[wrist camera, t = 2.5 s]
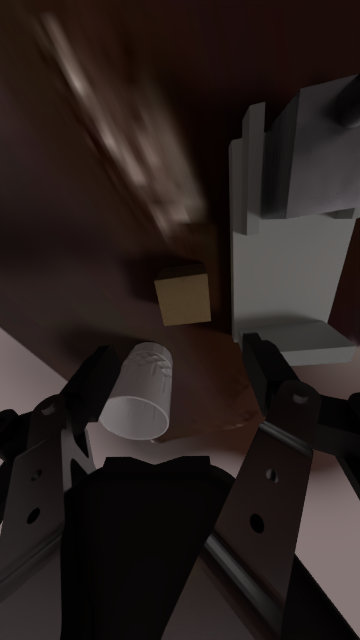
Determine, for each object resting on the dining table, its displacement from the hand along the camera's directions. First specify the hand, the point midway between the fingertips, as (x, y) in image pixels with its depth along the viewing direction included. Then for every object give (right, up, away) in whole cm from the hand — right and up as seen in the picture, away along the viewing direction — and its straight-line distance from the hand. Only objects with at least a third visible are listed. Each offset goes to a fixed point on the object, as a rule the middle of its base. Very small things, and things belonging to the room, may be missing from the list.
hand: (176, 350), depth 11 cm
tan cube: (+1, +6, +11) cm, 13 cm away
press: (+11, +9, +9) cm, 17 cm away
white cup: (-4, -4, +17) cm, 18 cm away
